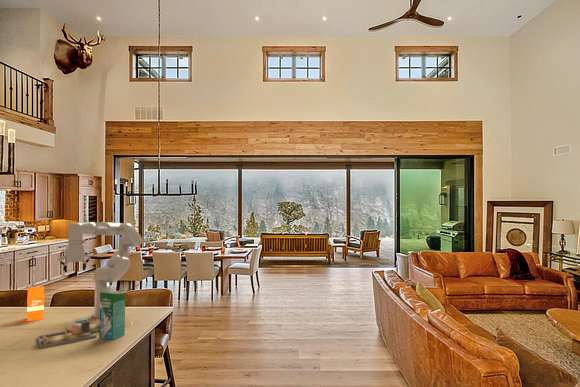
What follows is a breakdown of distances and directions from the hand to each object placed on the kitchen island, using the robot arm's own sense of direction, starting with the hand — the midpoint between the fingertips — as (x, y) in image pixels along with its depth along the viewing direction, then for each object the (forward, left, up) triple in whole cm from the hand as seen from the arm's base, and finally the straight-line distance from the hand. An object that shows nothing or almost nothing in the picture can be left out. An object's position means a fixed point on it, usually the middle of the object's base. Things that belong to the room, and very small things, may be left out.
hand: (74, 271), depth 225 cm
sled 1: (+7, +28, -32) cm, 43 cm away
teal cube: (-1, +18, -30) cm, 35 cm away
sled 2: (-4, +18, -32) cm, 37 cm away
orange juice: (+17, -30, -32) cm, 47 cm away
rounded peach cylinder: (+3, +28, -30) cm, 41 cm away
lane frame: (+6, +23, -32) cm, 40 cm away
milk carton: (-13, +36, -32) cm, 50 cm away
